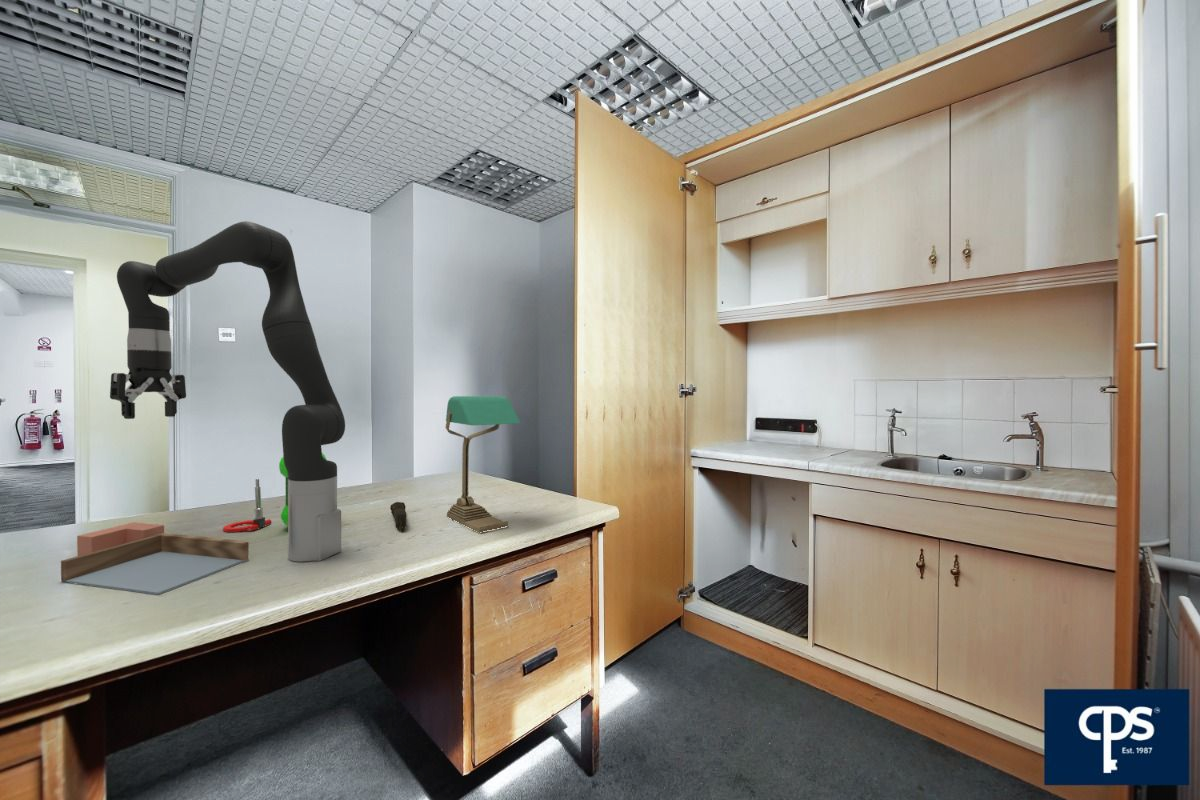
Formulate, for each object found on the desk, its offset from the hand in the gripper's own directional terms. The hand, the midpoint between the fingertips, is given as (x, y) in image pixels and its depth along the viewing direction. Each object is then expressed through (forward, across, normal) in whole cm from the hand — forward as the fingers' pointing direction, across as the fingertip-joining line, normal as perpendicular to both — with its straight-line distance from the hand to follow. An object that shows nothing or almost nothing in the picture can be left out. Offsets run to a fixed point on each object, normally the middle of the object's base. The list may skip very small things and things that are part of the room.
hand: (150, 417), depth 110 cm
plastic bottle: (+29, +16, -27) cm, 43 cm away
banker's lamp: (+29, +30, -70) cm, 81 cm away
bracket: (+29, -9, -4) cm, 31 cm away
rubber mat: (+29, -15, -23) cm, 40 cm away
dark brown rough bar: (+30, +25, -50) cm, 63 cm away
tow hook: (+29, +12, -13) cm, 34 cm away
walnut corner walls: (+29, -15, -23) cm, 40 cm away
